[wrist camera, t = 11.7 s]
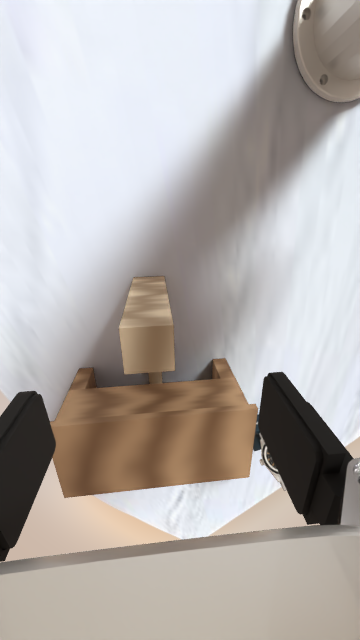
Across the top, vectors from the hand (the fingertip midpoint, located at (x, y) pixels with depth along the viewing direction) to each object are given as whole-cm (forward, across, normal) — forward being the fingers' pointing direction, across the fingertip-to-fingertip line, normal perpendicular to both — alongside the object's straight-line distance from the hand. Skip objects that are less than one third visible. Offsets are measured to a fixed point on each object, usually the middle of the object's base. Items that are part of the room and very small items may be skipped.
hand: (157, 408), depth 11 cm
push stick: (+24, +1, +12) cm, 27 cm away
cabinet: (+24, +1, +19) cm, 31 cm away
